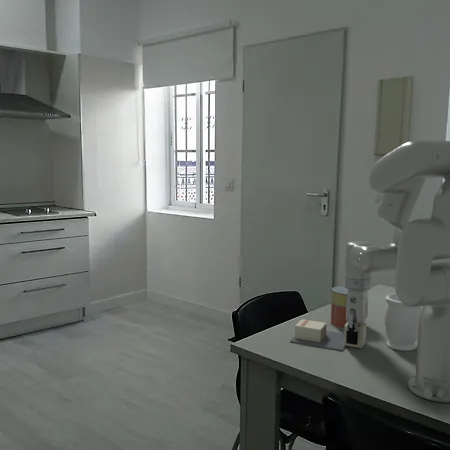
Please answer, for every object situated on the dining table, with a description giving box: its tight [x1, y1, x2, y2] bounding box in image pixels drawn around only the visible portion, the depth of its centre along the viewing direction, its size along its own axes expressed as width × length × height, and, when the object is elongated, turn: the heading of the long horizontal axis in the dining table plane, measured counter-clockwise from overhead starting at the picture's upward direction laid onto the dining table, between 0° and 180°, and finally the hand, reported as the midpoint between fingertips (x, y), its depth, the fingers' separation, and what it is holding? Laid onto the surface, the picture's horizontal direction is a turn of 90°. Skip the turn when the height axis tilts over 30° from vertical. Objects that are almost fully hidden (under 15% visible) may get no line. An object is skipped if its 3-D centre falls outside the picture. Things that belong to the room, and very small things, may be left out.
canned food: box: [329, 285, 348, 330], centre depth 168 cm, size 11×11×12 cm
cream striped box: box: [294, 318, 327, 342], centre depth 156 cm, size 7×8×4 cm
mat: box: [289, 330, 346, 352], centre depth 155 cm, size 14×16×1 cm
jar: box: [383, 293, 422, 352], centre depth 148 cm, size 11×10×15 cm
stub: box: [343, 322, 368, 349], centre depth 150 cm, size 6×5×6 cm
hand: (355, 338), depth 150 cm, fingers open, 9 cm apart
